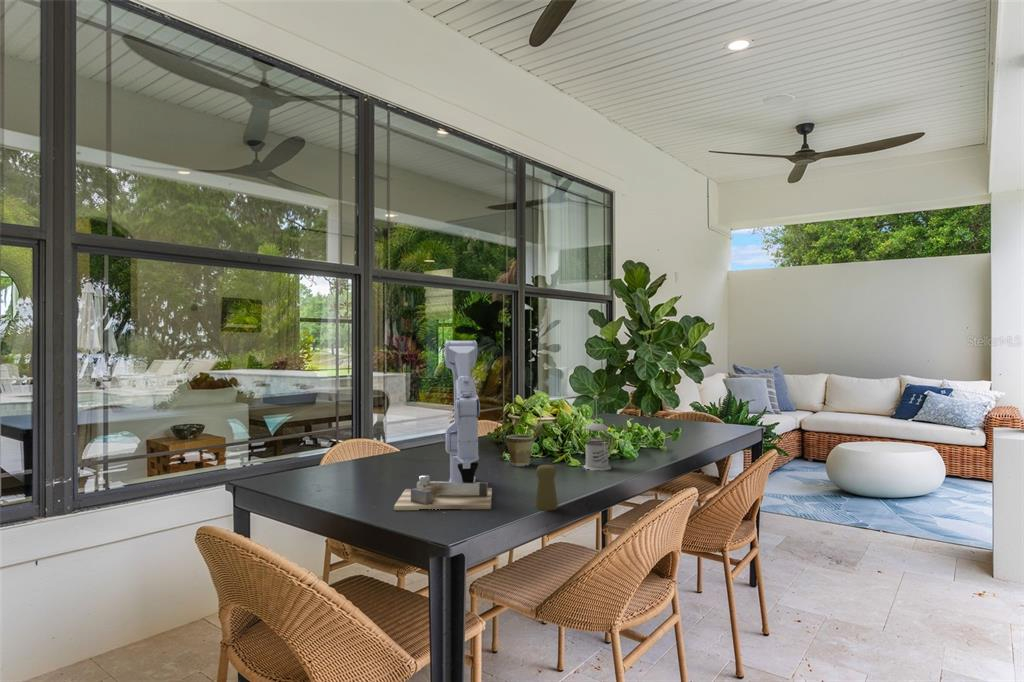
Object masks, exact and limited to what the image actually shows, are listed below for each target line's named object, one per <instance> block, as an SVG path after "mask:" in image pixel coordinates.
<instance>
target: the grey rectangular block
mask: <svg viewBox="0 0 1024 682" xmlns="http://www.w3.org/2000/svg"><path fill="white" fill-rule="evenodd" d="M410 489H411V501H412V502H417V503H421V504H425V505H427V504H431V503H433V491H432V490H427V489H423V488H418V487H417V486H416V487H413V488H410Z"/></svg>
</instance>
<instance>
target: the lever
mask: <svg viewBox="0 0 1024 682" xmlns="http://www.w3.org/2000/svg"><path fill="white" fill-rule="evenodd" d="M430 477H431V476H430V475H429V474H422V475H419V478H418V479H419V480H418V481H417V482H416V488H417V487H418V488H423V489H425V488H426V487H428V486H433V487H434V488H435V489H436V491H437V495H479V496H487V494H488V488H489V487H488V486H489V483H488V481H475V482H449V481H444V480H443V481H438V480H437V481H436V480H433V481H432V480H431V479H430Z"/></svg>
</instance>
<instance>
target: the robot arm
mask: <svg viewBox="0 0 1024 682" xmlns="http://www.w3.org/2000/svg"><path fill="white" fill-rule="evenodd" d="M478 351H479V350H478V342H477V341H476V339H474V340H448V339H447V340H446V341H445V342H444V357H445V358H444V359H445V360H444V362H445V363H444V364H445V366H446V368H448V369H450V370H451V373H452V378H453V409H454V411H453V413H454V414H453V415H454V416H453V417H454V419H453V422H452V423H451V424H450V425H448V426H447V427H446V429H445V441H444V442H445V452H446V453H447V454H449V472H450V475H449V476H450V477H449V479H448V482H476V476H475V474H476V471H477V469H478V466H479V462H478V461H479V460H480V456H479V419H478V418H479V417H480V413H481V403H480V399H479V395H478V394H477V389H476V381H475V379H474V378H473V377H472V376H471V369H473V368H474V367H475V365H476V364H477V359H478Z"/></svg>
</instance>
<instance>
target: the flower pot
mask: <svg viewBox="0 0 1024 682" xmlns="http://www.w3.org/2000/svg"><path fill="white" fill-rule="evenodd" d="M534 439H535V436H534V435H531V434H523V433H522V434H520V433H519V434H510V435H509V434H508V435H506V436H505V440H506V446H507V449H508V455H509V460H510V461H509V462H510V464H511V466H513V465H514V467H526V466H525V465H527V466H530V462H531V460H530V459H531V454H532V449H533V446H534Z"/></svg>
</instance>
